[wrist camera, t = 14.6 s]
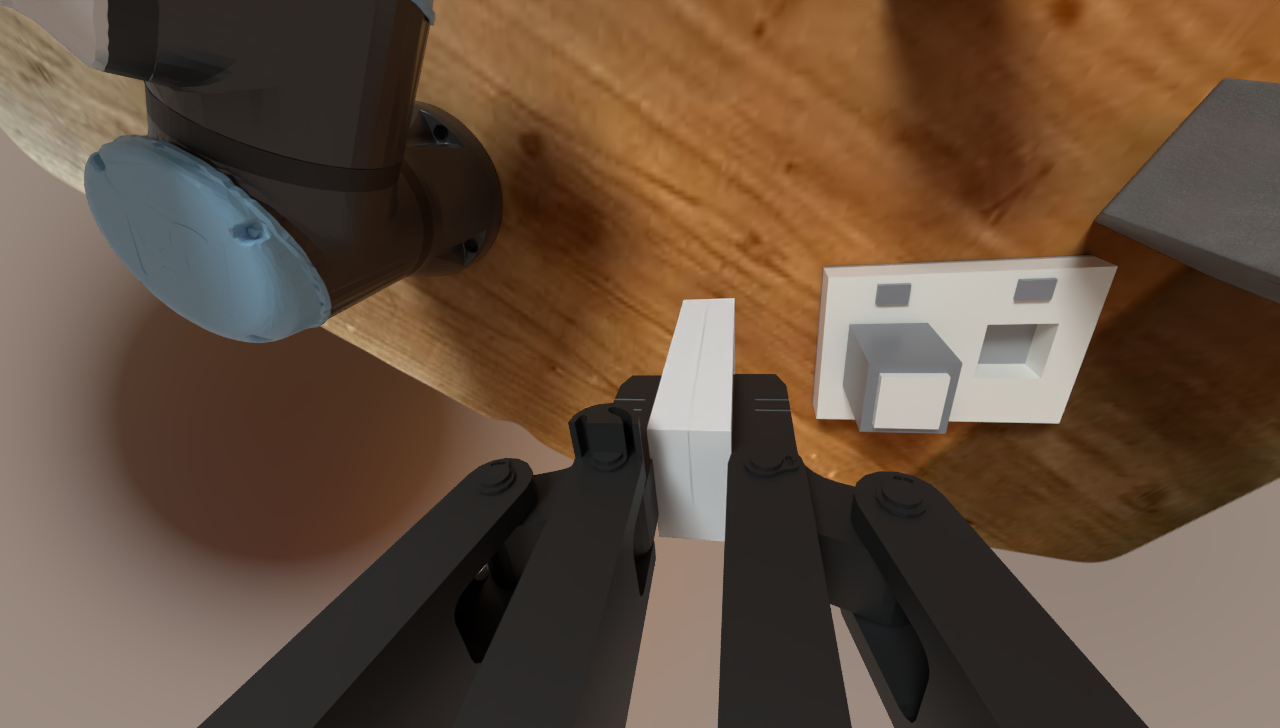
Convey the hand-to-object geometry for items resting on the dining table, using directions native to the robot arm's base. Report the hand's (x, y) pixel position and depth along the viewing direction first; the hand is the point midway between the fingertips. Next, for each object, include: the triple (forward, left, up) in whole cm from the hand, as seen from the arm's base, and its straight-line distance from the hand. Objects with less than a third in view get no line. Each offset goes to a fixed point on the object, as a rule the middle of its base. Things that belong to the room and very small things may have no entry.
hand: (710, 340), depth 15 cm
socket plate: (+18, -14, -29) cm, 37 cm away
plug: (+13, -14, -29) cm, 35 cm away
